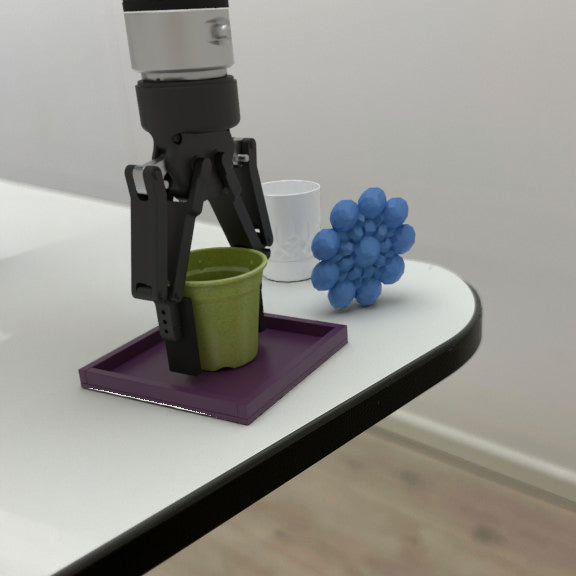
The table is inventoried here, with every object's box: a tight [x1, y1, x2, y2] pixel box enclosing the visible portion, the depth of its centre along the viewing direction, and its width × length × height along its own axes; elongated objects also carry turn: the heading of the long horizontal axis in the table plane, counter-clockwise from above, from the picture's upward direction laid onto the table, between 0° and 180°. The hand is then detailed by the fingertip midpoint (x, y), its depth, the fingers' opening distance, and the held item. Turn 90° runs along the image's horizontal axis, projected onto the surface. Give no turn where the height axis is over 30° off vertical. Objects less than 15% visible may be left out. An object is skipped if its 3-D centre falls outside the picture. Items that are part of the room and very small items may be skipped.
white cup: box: [255, 179, 322, 283], centre depth 87 cm, size 8×8×10 cm
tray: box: [77, 312, 349, 426], centre depth 67 cm, size 17×17×2 cm
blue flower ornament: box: [309, 186, 416, 309], centre depth 77 cm, size 12×7×12 cm, turn 116°
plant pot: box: [167, 246, 267, 371], centre depth 65 cm, size 9×9×9 cm
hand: (220, 349), depth 67 cm, fingers open, 9 cm apart
